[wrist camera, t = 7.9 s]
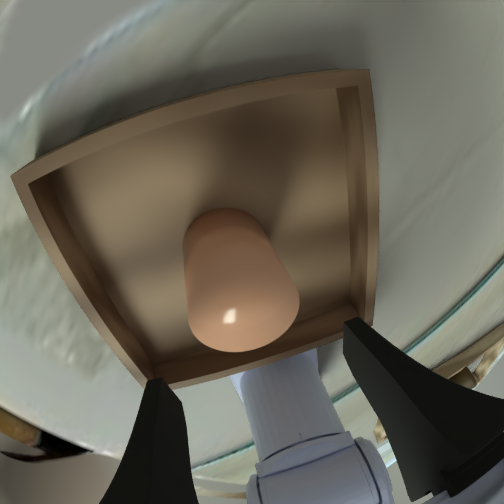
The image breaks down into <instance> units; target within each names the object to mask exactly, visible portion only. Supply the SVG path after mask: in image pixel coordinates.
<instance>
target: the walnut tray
mask: <svg viewBox="0 0 504 504" xmlns="http://www.w3.org/2000/svg"><path fill="white" fill-rule="evenodd" d="M11 179H12V181H13V184H14V186H15V188H16V191H17V193H18V195H19V197H20V200H21V202H22V204H23V206H24V208H25V211H26V213H27V215H28V217H29V219H30V221H31V223H32V225H33V227H34V229H35V231H36V233H37V235H38V237H39V238H40V240H41V242H42V244H43V246H44V248H45V250H46V251H47V253H48V255H49V257H50V259H51V260H52V262H53V264H54V265H55V267H56V269H57V271H58V272H59V274H60V276H61V277H62V279H63V280H64V282H65V284H66V285H67V287H68V289H69V290H70V292H71V293H72V295H73V296H74V298H75V299H76V301H77V302H78V304H79V305H80V307H81V308H82V310H83V311H84V313H85V314H86V316H87V317H88V319H89V320H90V321H91V323H92V324H93V326H94V327H95V328H96V330H97V331H98V332H99V334H100V335H101V337H102V338H103V339H104V341H105V342H106V343H107V345H108V346H109V347H110V348H111V350H112V351H113V352H114V354H115V355H116V356H117V357H118V359H119V360H120V361H121V362H122V364H123V365H124V366H125V367H126V368H127V370H128V371H129V372H130V373H131V374H132V376H133V377H134V378H135V379H136V380H137V381H138V383H139V384H140V385H141V386H142V387H143V388H144V389H145V386H146V382H147V381H148V380H151V379H156V378H160V377H162V378H163V379H164V381H165V382H166V383H167V385H168V386H169V387H170V388H171V390H174V389H178V388H183V387H187V386H191V385H195V384H200V383H204V382H207V381H211V380H215V379H219V378H223V377H226V376H230V375H234V374H237V373H241V372H244V371H247V370H251V369H254V368H257V367H261V366H264V365H267V364H270V363H273V362H277V361H280V360H283V359H286V358H289V357H292V356H295V355H297V354H300V353H303V352H306V351H309V350H312V349H314V348H317V347H320V346H323V345H325V344H328V343H331V342H333V341H336V340H339V339H341V338H343V331H344V322H345V321H348V320H350V319H353V318H355V317H360V318H361V319H362V320H363V321H364V322H366V323H367V324H368V325H369V326H370V327H371V326H372V325H373V316H374V305H375V294H376V281H377V265H378V242H379V175H378V153H377V137H376V124H375V113H374V103H373V95H372V86H371V79H370V72H369V69H333V70H323V71H314V72H306V73H299V74H292V75H285V76H279V77H273V78H267V79H262V80H256V81H251V82H246V83H242V84H237V85H233V86H228V87H224V88H220V89H216V90H212V91H208V92H204V93H200V94H197V95H193V96H189V97H186V98H183V99H179V100H176V101H173V102H169V103H166V104H163V105H160V106H157V107H154V108H151V109H148V110H145V111H142V112H140V113H137V114H134V115H131V116H129V117H126V118H123V119H121V120H118V121H116V122H113V123H111V124H108V125H106V126H103V127H101V128H99V129H96V130H94V131H92V132H89V133H87V134H85V135H82V136H80V137H78V138H76V139H74V140H72V141H70V142H67V143H65V144H63V145H61V146H59V147H57V148H55V149H53V150H51V151H49V152H47V153H45V154H44V155H42V156H40V157H38V158H36V159H34V160H33V161H31V162H30V163H28V164H27V165H25V166H24V167H22V168H21V169H19V170H18V171H17V172H15V173H14V174H12V175H11ZM218 208H236V209H240V210H243V211H245V212H247V213H249V214H251V215H252V216H253V217H254V218H256V219H257V221H258V222H259V223H260V225H261V226H262V228H263V230H264V231H265V233H266V235H267V237H268V238H269V240H270V242H271V244H272V245H273V247H274V249H275V251H276V253H277V254H278V256H279V258H280V260H281V261H282V263H283V265H284V267H285V268H286V270H287V272H288V274H289V276H290V277H291V279H292V281H293V283H294V284H295V286H296V288H297V291H298V294H299V302H300V304H299V310H298V313H297V316H296V318H295V320H294V321H293V323H292V324H291V326H290V327H289V328H288V329H287V330H286V331H285V332H284V333H283V334H282V335H281V336H280V337H279V338H277V339H276V340H274V341H272V342H271V343H269V344H267V345H265V346H262V347H260V348H257V349H253V350H249V351H243V352H226V351H220V350H216V349H213V348H211V347H208V346H206V345H205V344H203V343H202V342H200V341H199V340H198V339H197V338H196V337H195V335H194V334H193V333H192V331H191V329H190V326H189V322H188V314H187V304H186V292H185V280H184V266H183V251H182V244H183V239H184V236H185V233H186V231H187V229H188V228H189V226H190V225H191V224H192V223H193V222H194V221H195V220H196V219H197V218H198V217H199V216H201V215H202V214H204V213H206V212H208V211H211V210H214V209H218Z"/></svg>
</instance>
